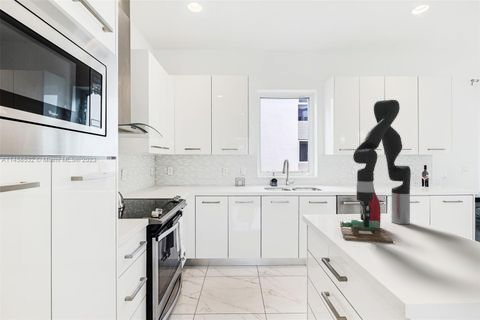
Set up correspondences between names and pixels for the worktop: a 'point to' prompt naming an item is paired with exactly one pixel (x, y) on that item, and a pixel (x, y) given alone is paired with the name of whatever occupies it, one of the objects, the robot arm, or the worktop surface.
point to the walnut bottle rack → (366, 235)
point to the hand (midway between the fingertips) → (365, 225)
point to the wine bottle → (375, 208)
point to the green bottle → (360, 225)
